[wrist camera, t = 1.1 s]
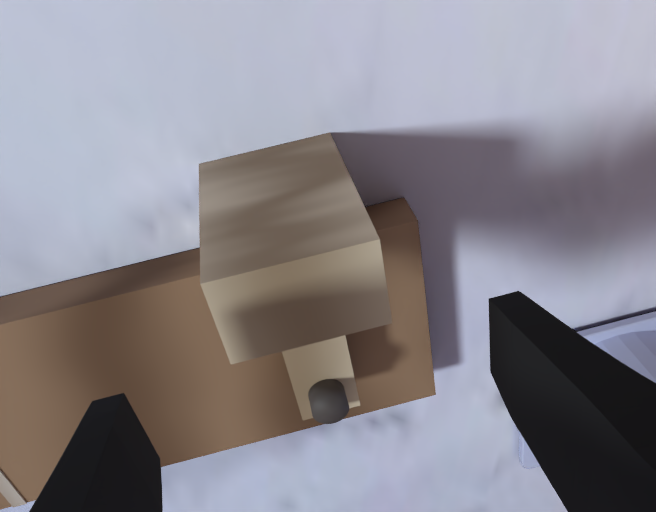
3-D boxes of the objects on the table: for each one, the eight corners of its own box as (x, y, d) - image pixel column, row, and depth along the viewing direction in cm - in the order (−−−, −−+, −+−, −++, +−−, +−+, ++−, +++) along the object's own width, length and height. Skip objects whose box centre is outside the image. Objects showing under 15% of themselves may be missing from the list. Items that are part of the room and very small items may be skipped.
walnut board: (404, 197, 20) (418, 221, 19) (423, 367, 24) (436, 395, 23) (-217, 350, 19) (-246, 386, 18) (-74, 496, 23) (-89, 534, 22)
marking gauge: (330, 132, 18) (379, 239, 13) (367, 337, 23) (414, 470, 18) (198, 163, 18) (200, 283, 13) (265, 363, 23) (284, 505, 18)
